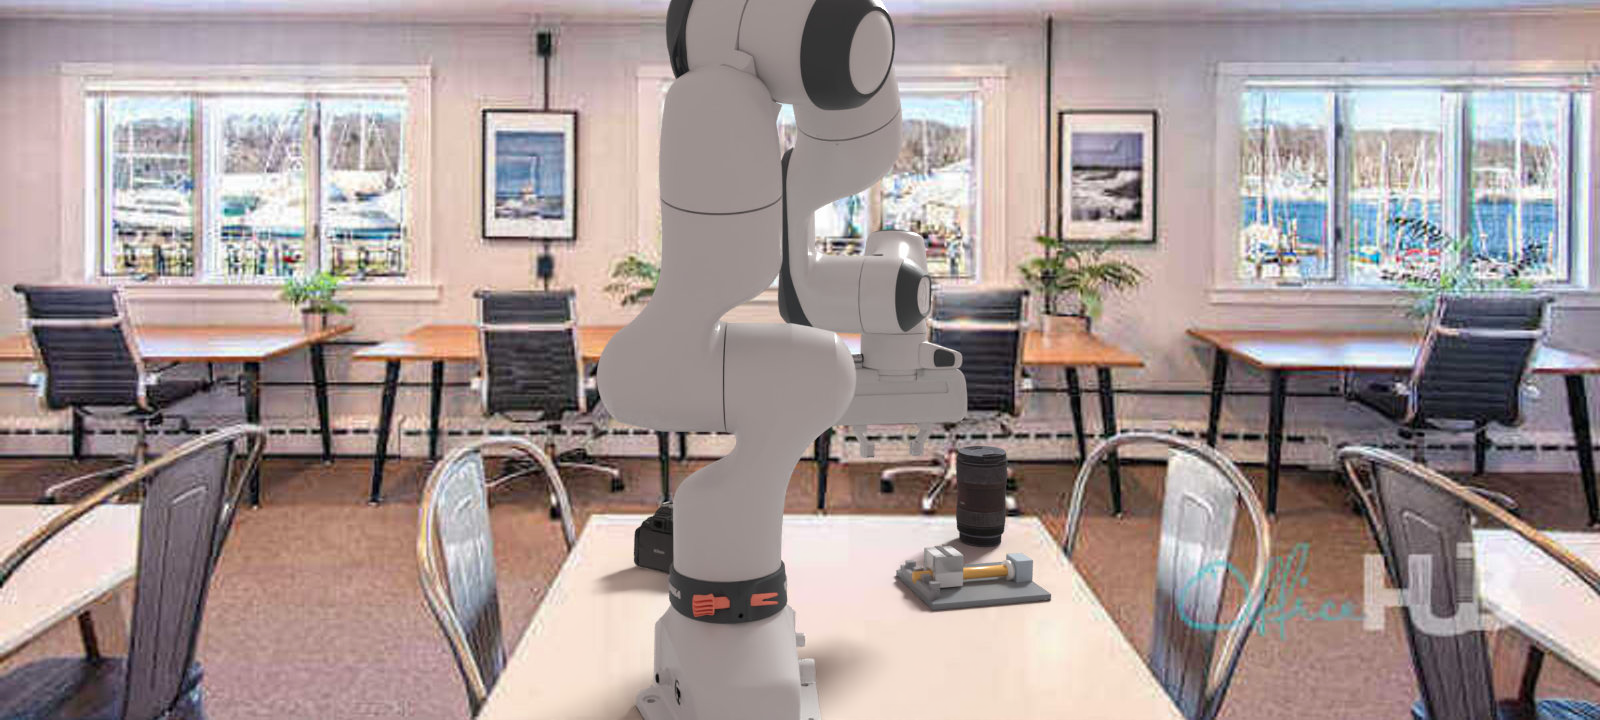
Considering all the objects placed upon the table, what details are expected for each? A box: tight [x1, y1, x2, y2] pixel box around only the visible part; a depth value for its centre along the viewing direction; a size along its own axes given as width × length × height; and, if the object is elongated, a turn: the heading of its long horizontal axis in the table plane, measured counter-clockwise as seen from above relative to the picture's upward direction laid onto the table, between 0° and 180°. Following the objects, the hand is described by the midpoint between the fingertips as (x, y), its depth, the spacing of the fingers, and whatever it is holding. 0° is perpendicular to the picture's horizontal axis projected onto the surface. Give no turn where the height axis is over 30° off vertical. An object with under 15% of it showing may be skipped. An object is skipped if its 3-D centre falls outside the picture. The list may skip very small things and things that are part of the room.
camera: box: [633, 501, 674, 574], centre depth 138 cm, size 13×10×10 cm
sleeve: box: [923, 545, 965, 588], centre depth 130 cm, size 4×4×4 cm
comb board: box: [895, 552, 1052, 611], centre depth 131 cm, size 14×17×4 cm
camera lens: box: [955, 445, 1008, 547], centre depth 152 cm, size 8×8×15 cm
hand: (891, 455), depth 126 cm, fingers open, 5 cm apart
